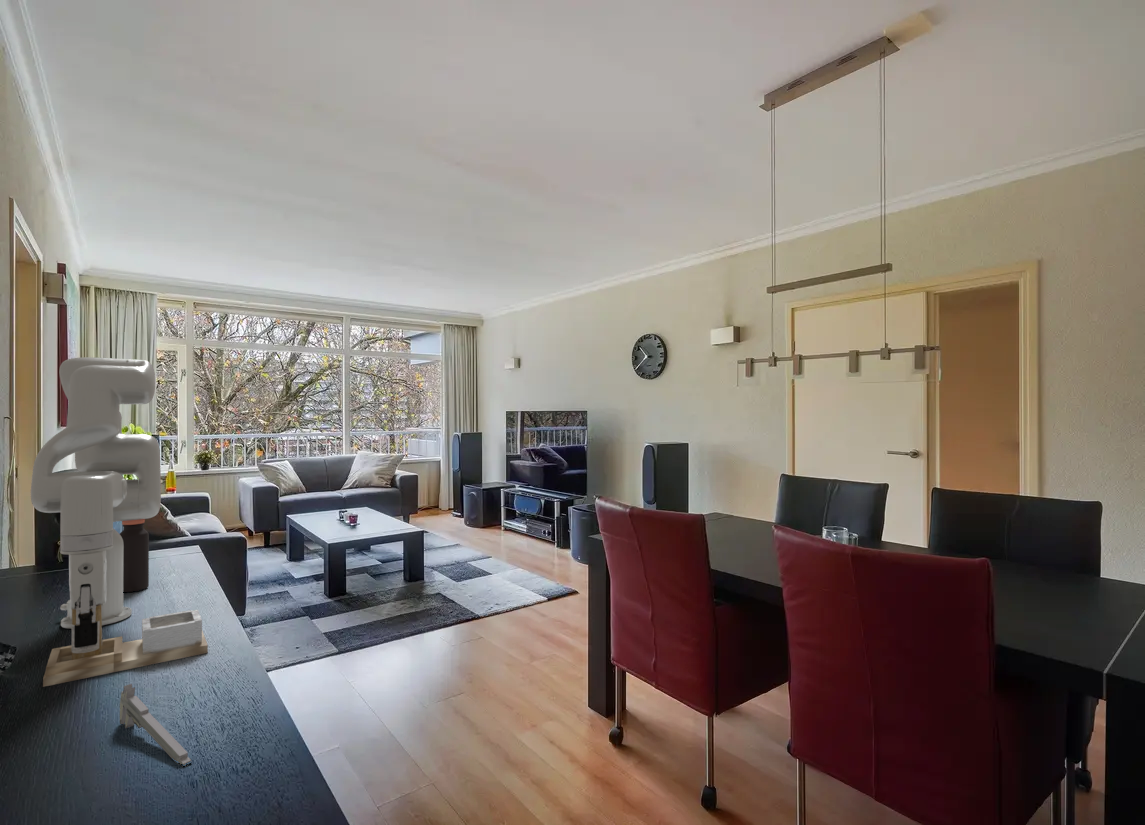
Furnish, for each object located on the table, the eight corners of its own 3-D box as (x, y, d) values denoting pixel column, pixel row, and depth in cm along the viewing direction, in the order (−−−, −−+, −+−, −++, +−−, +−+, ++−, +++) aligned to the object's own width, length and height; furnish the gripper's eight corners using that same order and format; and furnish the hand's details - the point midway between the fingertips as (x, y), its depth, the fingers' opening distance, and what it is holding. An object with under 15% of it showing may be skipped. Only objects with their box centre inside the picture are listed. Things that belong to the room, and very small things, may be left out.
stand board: (43, 686, 101) (43, 669, 101) (50, 664, 110) (50, 647, 110) (207, 652, 115) (207, 637, 115) (201, 635, 125) (201, 620, 125)
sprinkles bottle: (105, 660, 112) (105, 589, 112) (98, 669, 108) (98, 595, 108) (74, 664, 110) (75, 592, 110) (66, 674, 106) (66, 598, 106)
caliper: (119, 726, 88) (119, 684, 88) (127, 723, 89) (127, 681, 89) (183, 769, 77) (183, 721, 77) (192, 765, 78) (192, 717, 78)
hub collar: (142, 655, 110) (142, 631, 110) (141, 640, 118) (142, 618, 118) (202, 644, 116) (202, 620, 116) (197, 630, 123) (197, 609, 123)
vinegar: (154, 587, 162) (155, 513, 162) (130, 594, 156) (131, 517, 156) (135, 585, 164) (135, 513, 164) (110, 592, 157) (111, 517, 157)
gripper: (111, 547, 105) (111, 650, 105) (113, 533, 118) (113, 624, 118) (55, 553, 100) (55, 661, 100) (64, 537, 114) (64, 633, 114)
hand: (86, 640), depth 109 cm, fingers closed on sprinkles bottle, 4 cm apart
